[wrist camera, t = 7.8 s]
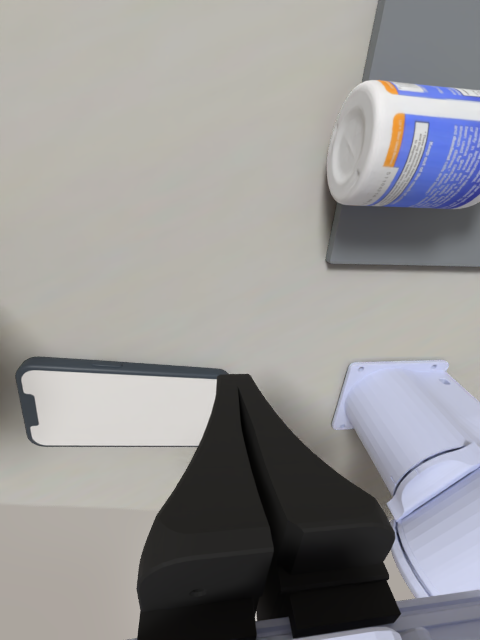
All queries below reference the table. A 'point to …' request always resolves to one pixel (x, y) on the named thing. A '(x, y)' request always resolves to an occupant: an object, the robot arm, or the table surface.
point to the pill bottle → (406, 147)
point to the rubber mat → (424, 69)
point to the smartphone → (114, 403)
